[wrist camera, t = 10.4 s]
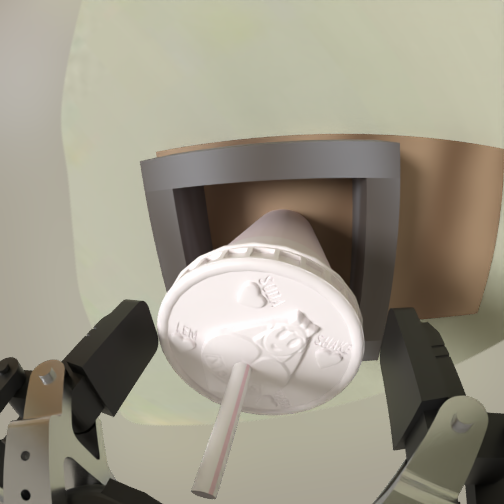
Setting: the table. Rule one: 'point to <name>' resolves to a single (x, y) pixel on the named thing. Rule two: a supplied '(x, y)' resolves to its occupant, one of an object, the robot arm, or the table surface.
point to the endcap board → (343, 212)
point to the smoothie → (260, 330)
